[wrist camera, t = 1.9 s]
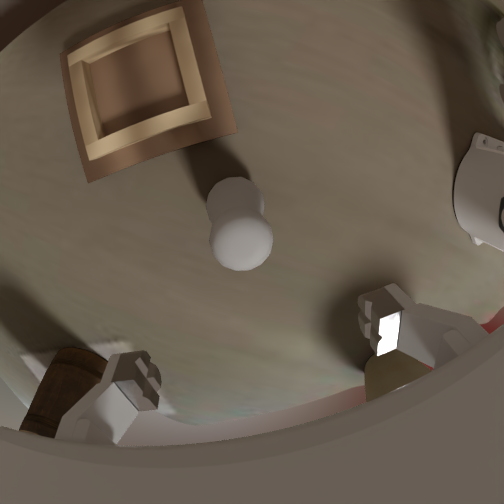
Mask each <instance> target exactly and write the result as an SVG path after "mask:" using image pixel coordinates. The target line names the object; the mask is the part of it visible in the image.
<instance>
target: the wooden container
mask: <svg viewBox="0 0 504 504" xmlns="http://www.w3.org/2000/svg"><path fill="white" fill-rule="evenodd" d="M107 364H108V362H107V361H106V360H104V359H103V358H101V357H99V356H98V355H96V354H94V353H92V352H89V351H87V350H84V349H80V348H64V349H61V350H60V351H58V353H57V354H56V355H55V357H54V359H53V361H52V362H51V364H50V366H49V368H48V369H47V371H46V373H45V375H44V377H43V379H42V381H41V383H40V385H39V387H38V389H37V392H36V394H35V396H34V398H33V401H32V403H31V405H30V407H29V410H28V412H27V415H26V416H25V418H24V420H23V422H22V424H21V426H20V429H19V431H21V432H25V433H29V434H34V435H39V436H43V437H49V438H54V439H55V436H56V433H57V430H58V427H59V424H60V422H61V419H62V416H63V415H64V414H66V413H67V412H68V411H69V410H70V409H71V408H72V407H73V406H74V405H75V404H76V403H77V402H78V401H79V400H80V399H81V398H82V397H83V396H85V395H86V394H87V393H88V392H89V391H90V390H91V389H92V388H93V387H94V386H95V385H96V384H98V383H100V382H101V380H102V377H103V374H104V371H105V369H106V366H107Z"/></svg>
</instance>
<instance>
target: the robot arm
mask: <svg viewBox="0 0 504 504" xmlns="http://www.w3.org/2000/svg"><path fill="white" fill-rule="evenodd" d="M454 208H455V213H456V217H457V220H458V222H459V224H460V226H461V227H462V228H463V229H464V230H465V231H466V232H468V233H469V234H470V237H471V240H472V242H473V243H474V244H476V245H480V244H481V243H483V242H485V243H487V244H489V245H491V246H493V247H495V248H497V249H499V250H501V251H504V142H503V141H500V140H498V139H495V138H492V137H490V136H487V135H484V134H481V133H478V132H476V133H475V134H474V136H473V139H472V143H471V147H470V149H469V151H468V152H467V154H466V155H465V156H464V158H463V160H462V162H461V164H460V166H459V169H458V172H457V176H456V180H455V187H454ZM358 306H359V307H360V309H361V310H360V312H359V314H358V322H359V326H360V329H361V331H362V333H363V335H364V337H366V338H369V339H370V346H371V347H372V349H373V350H374V352H375V353H376V355H377V356H379V355H381V354H384V353H387V352H389V351H392V350H394V349H397V350H399V351H401V352H403V353H405V354H407V355H409V356H411V357H413V358H415V359H417V360H419V361H421V362H423V363H425V364H427V365H429V366H431V367H433V371H432V372H430V373H428V374H426V375H424V376H422V377H420V378H418V379H416V380H415V381H413V382H411V383H409V384H406V385H404V386H402V387H400V388H398V389H396V390H394V391H392V392H389V393H387V394H385V395H383V396H380V397H378V398H376V399H373V400H371V401H368V402H366V403H363V404H361V405H358V406H356V407H353V408H350V409H348V410H345V411H342V412H339V413H336V414H334V415H331V416H327V417H324V418H321V419H318V420H315V421H311V422H308V423H304V424H300V425H297V426H293V427H290V428H285V429H281V430H277V431H272V432H268V433H263V434H258V435H253V436H248V437H242V438H236V439H229V440H222V441H215V442H207V443H197V444H185V445H168V446H118V445H117V443H118V442H119V440H120V438H121V437H122V436H123V434H124V433H125V432H126V430H127V429H128V427H129V426H130V425H131V423H132V422H133V420H134V419H135V417H136V416H137V415H138V413H139V411H147V410H156V409H158V403H159V395H158V393H157V391H158V390H159V389H160V388H161V383H162V381H161V374H160V372H159V369H158V368H157V366H156V365H155V364H153V363H151V362H150V359H151V357H150V355H149V354H148V353H147V351H144V350H142V351H135V352H127V353H121V354H113V355H112V356H110V358H109V361H108V364H107V366H106V369H105V371H104V374H103V377H102V380H101V382H100V383H98V384H96V385H95V386H94V387H93V388H92V389H91V390H90V391H89V392H88V393H87V394H86V395H85V396H83V397H82V398H81V399H80V400H79V401H78V402H77V403H76V404H75V405H74V406H73V407H72V408H71V409H70V410H69V411H68V412H67V413H66V414H64V415H63V416H62V419H61V422H60V424H59V427H58V430H57V433H56V436H55V439H54V438H49V437H43V436H39V435H34V434H29V433H25V432H21V431H17V430H14V429H10V428H7V427H3V426H1V427H0V504H504V324H503V325H502V326H501V327H499V328H498V329H496V330H495V331H494V332H493V333H491V334H490V335H489V334H488V333H487V332H486V331H485V330H484V329H483V328H482V327H481V326H480V325H479V324H478V323H477V322H476V321H475V320H474V319H473V318H472V317H469V316H466V315H462V314H458V313H454V312H451V311H447V310H443V309H440V308H436V307H432V306H429V305H425V304H421V303H419V304H416V303H415V302H414V301H413V300H412V299H411V298H410V297H409V296H408V295H407V294H406V293H405V292H404V291H403V290H402V289H400V288H399V287H398V286H397V285H396V284H395V283H392V284H389V285H387V286H384V287H382V288H380V289H377V290H374V291H371V292H369V293H366V294H363V295H360V296H359V297H358Z"/></svg>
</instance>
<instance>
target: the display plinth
mask: <svg viewBox="0 0 504 504" xmlns="http://www.w3.org/2000/svg"><path fill="white" fill-rule="evenodd" d="M60 61H61V68H62V76H63V82H64V88H65V94H66V99H67V105H68V109H69V114H70V119H71V123H72V128H73V132H74V136H75V140H76V144H77V147H78V151H79V155H80V158H81V162H82V165H83V169H84V172H85V175H86V178H87V181H88V183H91V182H93V181H95V180H98V179H100V178H102V177H105V176H107V175H110V174H112V173H114V172H117V171H119V170H122V169H124V168H127V167H129V166H132V165H135V164H137V163H140V162H143V161H145V160H148V159H151V158H154V157H157V156H160V155H163V154H165V153H168V152H171V151H175V150H178V149H181V148H184V147H187V146H190V145H194V144H197V143H201V142H204V141H208V140H211V139H215V138H218V137H222V136H226V135H230V134H234V133H237V132H238V130H237V126H236V123H235V119H234V115H233V111H232V107H231V103H230V100H229V96H228V92H227V88H226V85H225V81H224V77H223V73H222V70H221V66H220V62H219V59H218V55H217V51H216V48H215V44H214V40H213V37H212V33H211V30H210V26H209V22H208V19H207V15H206V12H205V8H204V5H203V1H202V0H181V1H177V2H174V3H171V4H167V5H164V6H161V7H158V8H155V9H152V10H149V11H147V12H144V13H141V14H139V15H136V16H134V17H131V18H129V19H126V20H124V21H121V22H119V23H117V24H115V25H112V26H110V27H108V28H106V29H104V30H102V31H100V32H98V33H96V34H94V35H92V36H90V37H88V38H86V39H84V40H83V41H81V42H79V43H77V44H76V45H74V46H72V47H70V48H69V49H67V50H65V51H64V52H62V53H60Z"/></svg>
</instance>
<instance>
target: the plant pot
mask: <svg viewBox="0 0 504 504" xmlns="http://www.w3.org/2000/svg"><path fill="white" fill-rule="evenodd" d="M430 372H432V371H431V370H430V369H429V368H428V367H426V366H425V365H424V364H422V363H421V362H419V361H418V360H417V359H415V358H413V357H411V356H409V355H407V354H405V353H403V352H401V351H399V350H397V349H394V350H392V351H389V352H387V353H384V354H381V355H379V356H377V355H376V353H375V354H374V355H372V356H371V357H370V358H369V360H368V361H367V363H366V365H365V370H364V373H365V392H366V402H368V401H371V400H373V399H376V398H378V397H380V396H383V395H385V394H387V393H389V392H392V391H394V390H396V389H398V388H400V387H402V386H404V385H406V384H409V383H411V382H413V381H415V380H416V379H418V378H420V377H422V376H424V375H426V374H428V373H430Z"/></svg>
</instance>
